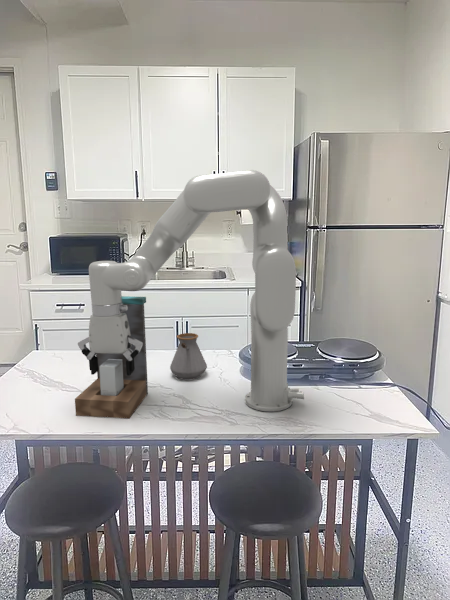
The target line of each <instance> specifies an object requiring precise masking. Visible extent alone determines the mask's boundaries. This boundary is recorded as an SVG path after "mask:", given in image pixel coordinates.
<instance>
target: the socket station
mask: <svg viewBox="0 0 450 600" xmlns="http://www.w3.org/2000/svg"><path fill="white" fill-rule="evenodd" d="M122 302H123V305H127V306H128V309H127V311H123V313H126V315H127V318H128V322H129V327H130V333H131V337H133V338H135V339H137V340H139V341H141V342H142V343H143V346H142V348H141V350H140V352H139V353H138V354H137V355H136V356H135V357H134V366H135V369H134V371H133V373H132V374H131V375H130V376H128V375H127V372H126V361H127V358H126V357H125V356H124V355H123V354H101V353H97V354H96V356H97V358H98V369H99V366H100V365H102V364H103V363H104V362H105V361H106V360H108V359H121V360H122V363H123V384H124V389H123V390H122V391H121V392H120V394H119V395H118V396H107V395H101V387H100V370H98V371H97V372H96V374H97V379H95V380H94V381H93V382H92V383H91V384H90V385H88V386H87V387H86V388H85V389H84V390H83V391H81V393H79V395H78V396H76V397H75V398H74V404H75V405H74V407H75V416H79V417H94V418H95V417H97V418H111V419H113V418H114V419H130V418H131V417H132V415H133V414H134V413H135V411H136V410H137V409H138V408H139V406H140V405H141V404H142V402H143V401H144V400H145V398H146V397H147V396H148V394H149V386H148V366H147V365H148V363H147V345H146V344H147V342H146V341H147V340H146V322H145V321H146V319H145V304H146V303H147V296H129V295H128V296H125V295H122ZM135 348H136V346H135V345H133V344H132V347H131V348H130V349H131V350H132V351H133V352H134V350H135Z"/></svg>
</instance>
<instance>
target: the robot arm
mask: <svg viewBox="0 0 450 600" xmlns="http://www.w3.org/2000/svg"><path fill="white" fill-rule="evenodd" d="M239 210H248V211H249V213H250V215H251V219H252V233H253V240H252V241H253V244H252V245H253V246H252V247H253V248H252V260H251V266H252V269H253V272H254V273H255V274H254V279H255V280H254V292H253V294H252V296H251V298H250V307H249V311H250V335H251V336H250V340H251V341H250V342H251V343H250V392H248V393H246V394H245V397H244V401H245V404H246V405H247V406H248V407H249V408H251V409H253V410H257V411H260V412H280V411H283V410H287V409H288V408H290V407H291V406H292V404H293V399H297V400H304V399H305V392H304V391H300V388H291V387H289V384H288V383H289V382H288V379H287V378H288V347H289V346H288V344H289V342H288V341H289V335H288V334H289V332H288V329H289V326H290V324H292V321H294V320H293V319H294V317H295V313H296V297H297V296H296V292H297V289H296V287H297V271H296V270H297V267H296V261H295V258H294V257H293V255H292V253H290V251H289V250H288V249H289V248H288V245H289V244H288V216H287V210H286V206H285V203H284V201H283V199H282V197H281V196H280V194H279V193H278V191H277V190H276V189H275V188H274V186H272V185H271V183H270V181H269V179H268V178H267V176H266V175H265V174H263V173H262V172H260V171H259V170H254V169H250V170H248V169H247V170H239V171H232V172H221V173H213V174H212V173H211V174H199V175H196V176H194V177H191V179H189V180H188V182H187V183H186V184H185V186H184V189H183V190H182V192H181V193H180V194H179V195H178V197H176V198H175V200H174V201H173V203H172V204H170V206H169V207H168V208H167V210H165V211H164V213H163V214H162V215H161V216H160V217H159V219H158V220H157V222H156V223H155V225H154V227H153V228H152V231H151V234H149V237H148V238H147V239H146V240H145V241H144V242H143V244H142V245H141V247H139V249H138V250H137V251H136V252H135V253H134V255H133V256H132V257H131V258H130V259H128V260H127V261H125V262H117V261H114V260H99V261H93V262H91V263H90V264H89V266H88V277H89V289H90V290H89V291H90V300H91V302H90V303H91V315H90V317H89V325H88V336H87V337H85V338H83V339H82V340H80V341H79V342H77V346H78V348H79V350H81V353H82V354H83V355H84V356H85V358H86V360H88V367H89V371H90V374H91V375H93V376H94V375H95V374H97V371H98V370H99V369H98V358H97V356H96V354H97V353H101V354H123V355H124V356H125V357H126V358H127V361H126V372H127V375H128V376H130V375H131V374H132V373H133V371H134V369H135V366H134V357H135V356H136V355H137V354H138V353H139V352H140V350H141V348H142V346H143V343H142V342H141V341H139V340H137V339H135V338H133V337H131V333H130V327H129V322H128V318H127V315H126V313H123V311H127V309H128V306H127V305H123V302H122V296H123V295H122V291H124V292H125V291H126V292H139V291H141V290H142V289H144V288H145V287H146V286H147V284H148V283H149V282H150V281H151V280H152V279H153V277H155V275H156V274H157V273H158V271H160V270H161V268H162V267H163V266H164V264H165V263H166V262H167V261H168V260H169V259H170V258H171V257H172V255H173V254H174V253H176V252H177V251H178V250H179V249H181V247H183V246H184V244H185V243H186V242H187V241H188V240H189V238H191V236H193V234H194V233H195V232H196V231H197V230H198V228H199V227H200V226H201V225H202V223H203V222H204V221H205V220H206V219H207V218H208V217H209V215H210V214H211V213H219V212H231V211H232V212H233V211H239ZM86 344H89V345H88V346H89V347H87V345H86ZM132 344H133V345H135V346H136V348H135V350H134V352H133V351H132V350H131V349H130V348H131V347H132Z"/></svg>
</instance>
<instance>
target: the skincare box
mask: <svg viewBox="0 0 450 600" xmlns="http://www.w3.org/2000/svg"><path fill="white" fill-rule="evenodd" d="M99 370H100V387H101V395H107V396H118V395H119V394H120V392H121V391H122V390H123V389H124V384H123V363H122V360H121V359H108V360H106V361H105V362H104V363H103V364H102V365H100V366H99Z"/></svg>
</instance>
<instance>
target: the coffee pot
mask: <svg viewBox="0 0 450 600" xmlns="http://www.w3.org/2000/svg"><path fill="white" fill-rule="evenodd" d="M176 338H177V340H178V341H179V343H178V345H177V349H176V350H175V354H174V356H173V358H172V361H171V364H170V366H169V369H170V371H171V373H172V374H173V375H174V376H176V378H178V379H181V380H187V381H189V380H196V379H199V378H200V377H202V375H204V373H205V372H206V370H207V369H208V364H207V363H206V360H205V358H204V356H203V354H202V351H201V350H200V348H199V345H198V343H197V340H198V338H199V335H198V334H197V333H193V332H183V333H180V334H178V335H176Z"/></svg>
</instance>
